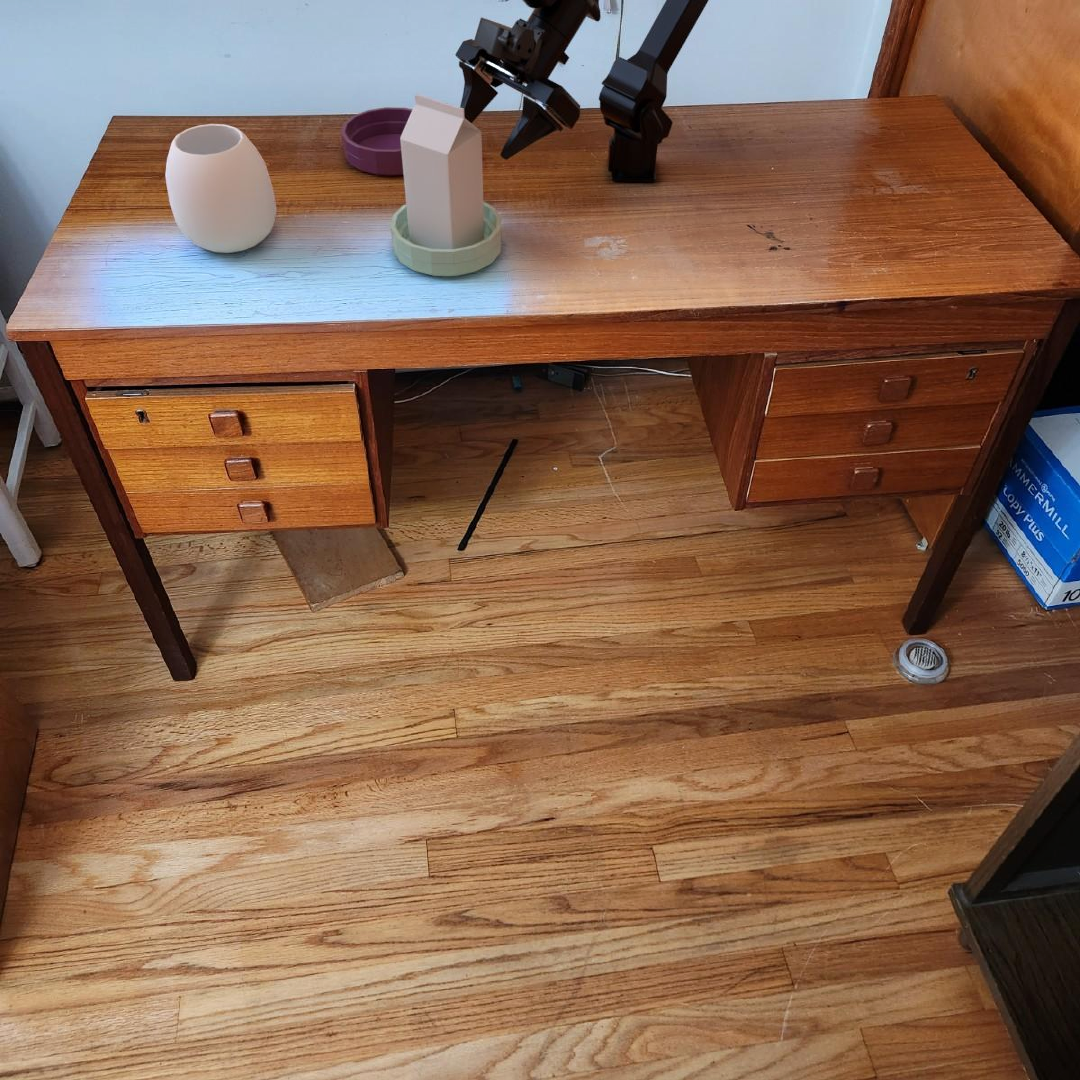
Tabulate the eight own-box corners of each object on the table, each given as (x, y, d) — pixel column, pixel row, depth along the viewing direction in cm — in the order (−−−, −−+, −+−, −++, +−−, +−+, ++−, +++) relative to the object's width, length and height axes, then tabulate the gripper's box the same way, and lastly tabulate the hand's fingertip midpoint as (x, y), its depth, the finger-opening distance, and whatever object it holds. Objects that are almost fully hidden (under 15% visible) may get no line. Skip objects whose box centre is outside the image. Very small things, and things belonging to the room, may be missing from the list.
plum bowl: (443, 133, 149) (441, 108, 147) (436, 178, 140) (434, 152, 137) (351, 132, 149) (348, 106, 146) (339, 176, 140) (335, 150, 137)
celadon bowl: (502, 222, 132) (502, 195, 129) (499, 280, 123) (499, 252, 120) (399, 220, 132) (397, 193, 129) (388, 278, 123) (385, 250, 120)
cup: (254, 271, 123) (231, 171, 113) (162, 254, 125) (131, 155, 115) (298, 220, 132) (281, 123, 122) (211, 205, 134) (187, 109, 124)
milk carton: (454, 266, 124) (446, 120, 110) (409, 249, 126) (396, 105, 112) (484, 241, 128) (481, 98, 114) (441, 226, 130) (432, 83, 116)
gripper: (464, -34, 115) (396, 84, 119) (566, 14, 106) (489, 139, 109) (515, 22, 125) (450, 129, 128) (613, 69, 115) (540, 184, 119)
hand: (480, 144), depth 121 cm, fingers open, 9 cm apart
